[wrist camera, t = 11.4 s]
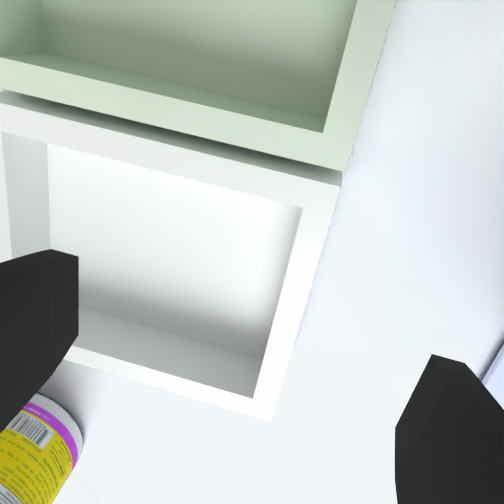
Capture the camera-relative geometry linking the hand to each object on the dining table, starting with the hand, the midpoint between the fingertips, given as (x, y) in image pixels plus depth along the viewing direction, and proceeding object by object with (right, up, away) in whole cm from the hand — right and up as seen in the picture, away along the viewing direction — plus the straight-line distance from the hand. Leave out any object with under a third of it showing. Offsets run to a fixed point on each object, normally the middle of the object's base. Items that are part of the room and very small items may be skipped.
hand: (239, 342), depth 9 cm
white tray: (-4, +2, +11) cm, 12 cm away
